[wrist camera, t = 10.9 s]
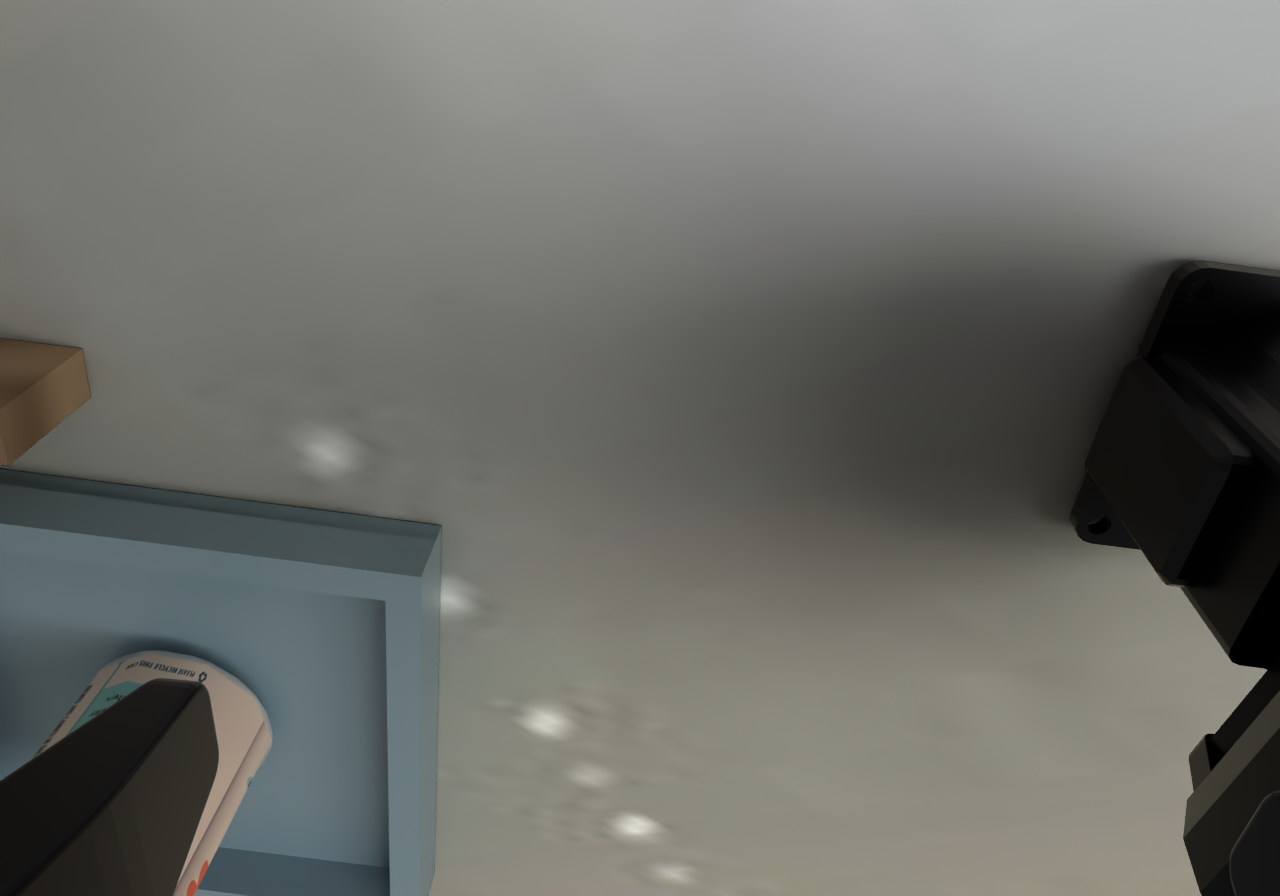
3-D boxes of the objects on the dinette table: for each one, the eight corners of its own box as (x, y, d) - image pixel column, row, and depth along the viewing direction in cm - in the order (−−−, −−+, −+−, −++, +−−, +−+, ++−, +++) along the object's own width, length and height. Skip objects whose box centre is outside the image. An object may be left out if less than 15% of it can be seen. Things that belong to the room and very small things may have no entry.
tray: (441, 525, 23) (421, 577, 21) (434, 872, 30) (418, 933, 28) (-105, 455, 23) (-171, 501, 21) (9, 820, 29) (-34, 878, 28)
